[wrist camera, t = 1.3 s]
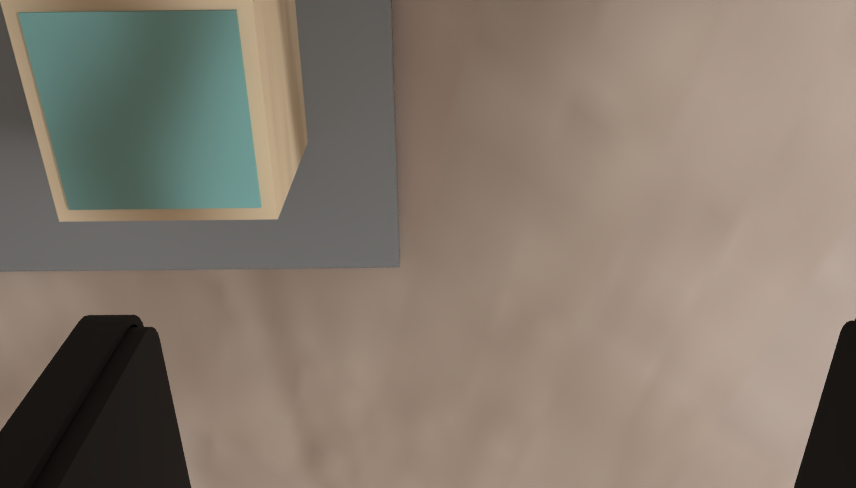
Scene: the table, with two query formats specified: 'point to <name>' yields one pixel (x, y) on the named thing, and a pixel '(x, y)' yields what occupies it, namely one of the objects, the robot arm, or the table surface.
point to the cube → (163, 105)
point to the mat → (239, 239)
